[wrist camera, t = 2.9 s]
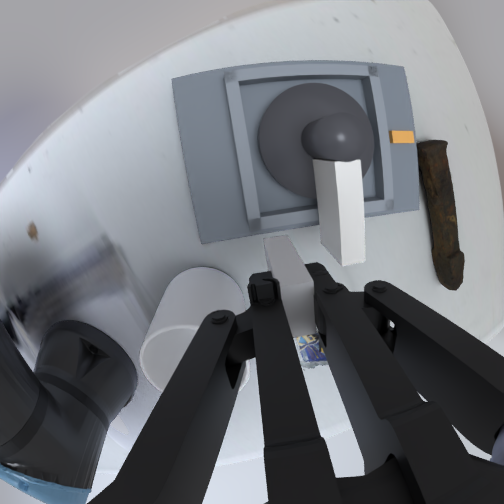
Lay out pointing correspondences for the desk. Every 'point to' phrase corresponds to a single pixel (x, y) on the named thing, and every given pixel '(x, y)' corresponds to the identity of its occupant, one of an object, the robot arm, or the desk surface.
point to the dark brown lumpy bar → (441, 212)
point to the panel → (248, 156)
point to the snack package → (311, 351)
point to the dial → (322, 159)
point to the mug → (186, 320)
